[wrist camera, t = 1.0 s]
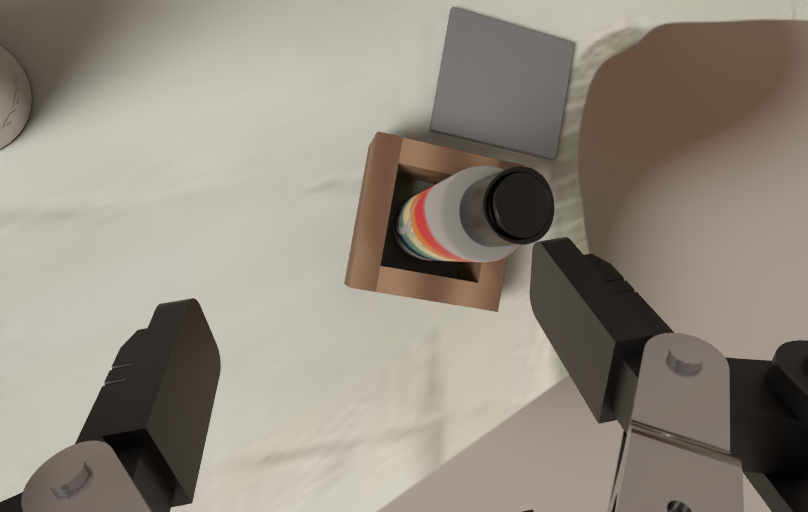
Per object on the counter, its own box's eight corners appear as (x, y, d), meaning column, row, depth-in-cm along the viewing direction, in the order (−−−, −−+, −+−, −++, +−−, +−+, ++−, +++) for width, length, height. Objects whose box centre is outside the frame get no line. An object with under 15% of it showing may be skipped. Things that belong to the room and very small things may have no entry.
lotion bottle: (388, 198, 42) (461, 150, 22) (450, 192, 43) (572, 140, 24) (396, 263, 42) (476, 271, 23) (458, 255, 43) (585, 256, 24)
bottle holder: (344, 283, 41) (349, 287, 36) (369, 145, 42) (377, 131, 37) (475, 305, 44) (497, 311, 39) (498, 175, 44) (522, 165, 39)
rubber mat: (429, 130, 43) (430, 129, 42) (450, 10, 43) (452, 6, 43) (552, 160, 45) (555, 158, 45) (571, 45, 45) (574, 42, 45)
